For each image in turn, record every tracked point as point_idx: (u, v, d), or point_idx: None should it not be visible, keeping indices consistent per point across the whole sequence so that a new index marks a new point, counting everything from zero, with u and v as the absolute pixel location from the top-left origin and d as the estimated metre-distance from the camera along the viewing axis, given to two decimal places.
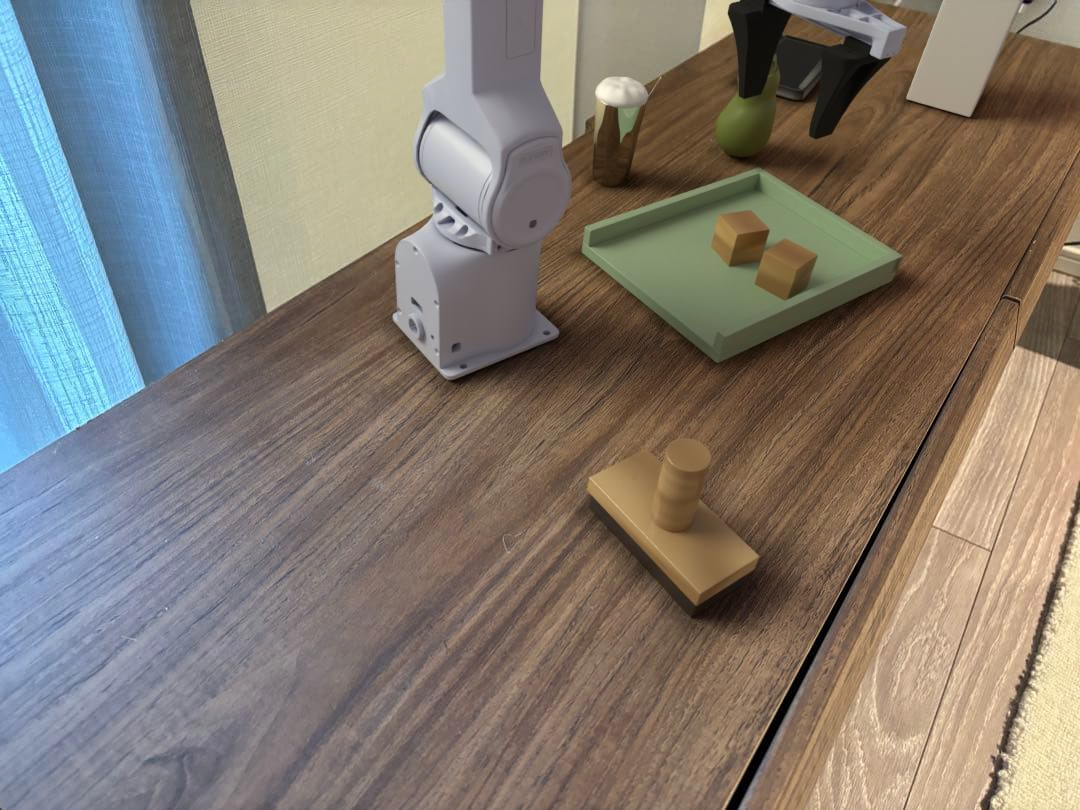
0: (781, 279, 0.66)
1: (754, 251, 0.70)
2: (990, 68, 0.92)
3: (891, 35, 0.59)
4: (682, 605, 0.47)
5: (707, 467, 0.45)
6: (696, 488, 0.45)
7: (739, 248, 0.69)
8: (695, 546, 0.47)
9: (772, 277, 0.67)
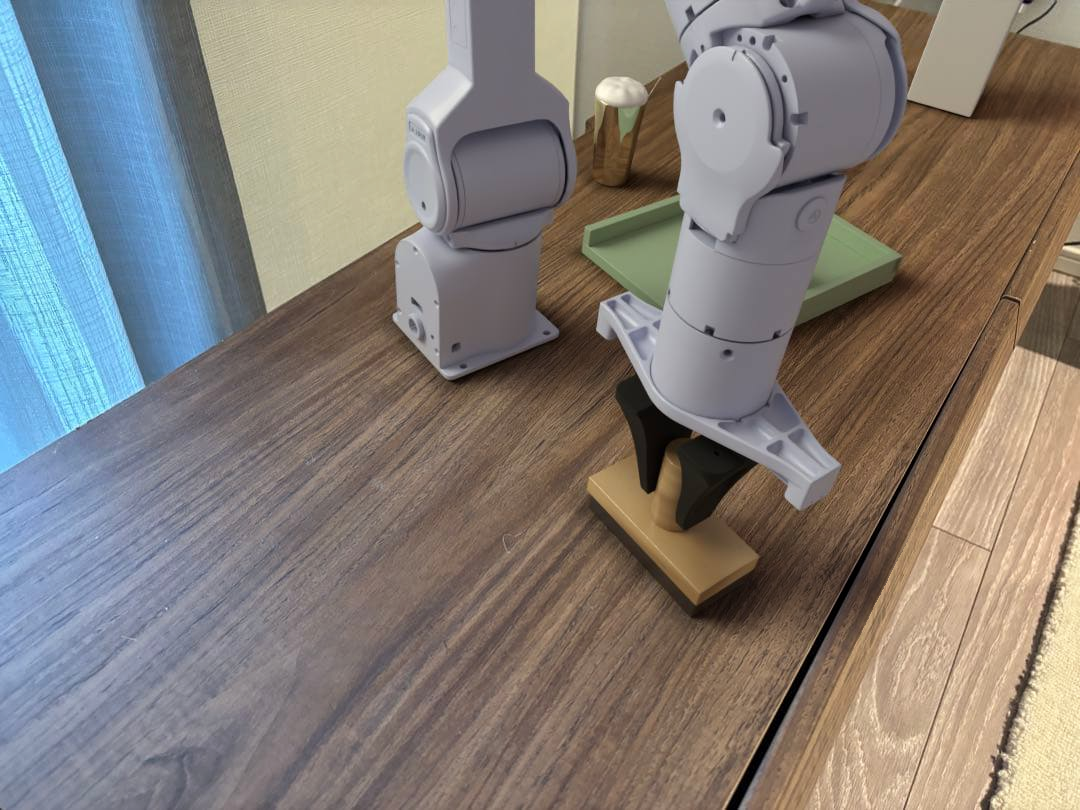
0: None
1: None
2: (990, 68, 0.92)
3: (815, 484, 0.37)
4: (682, 605, 0.47)
5: None
6: None
7: None
8: (695, 545, 0.47)
9: None
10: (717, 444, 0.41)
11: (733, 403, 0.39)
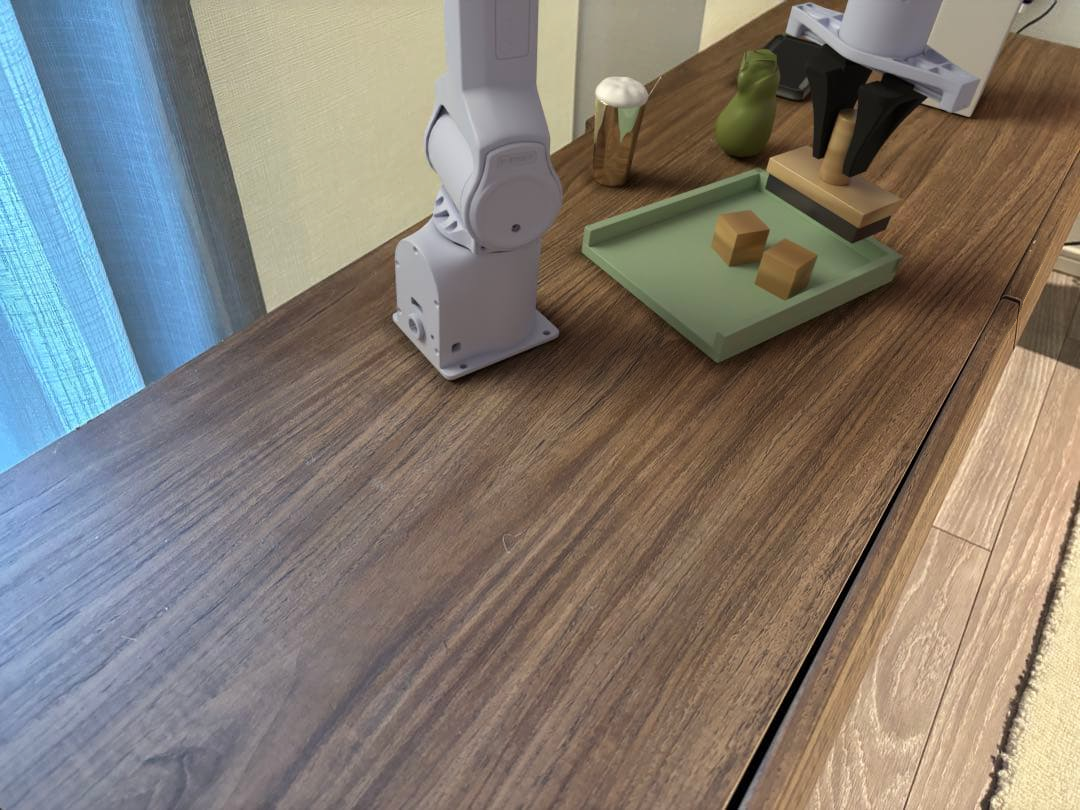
0: (781, 279, 0.66)
1: (754, 251, 0.70)
2: (990, 68, 0.92)
3: (964, 88, 0.55)
4: (845, 236, 0.65)
5: None
6: None
7: (739, 248, 0.69)
8: (854, 192, 0.65)
9: (772, 277, 0.67)
10: (886, 86, 0.59)
11: (904, 42, 0.57)
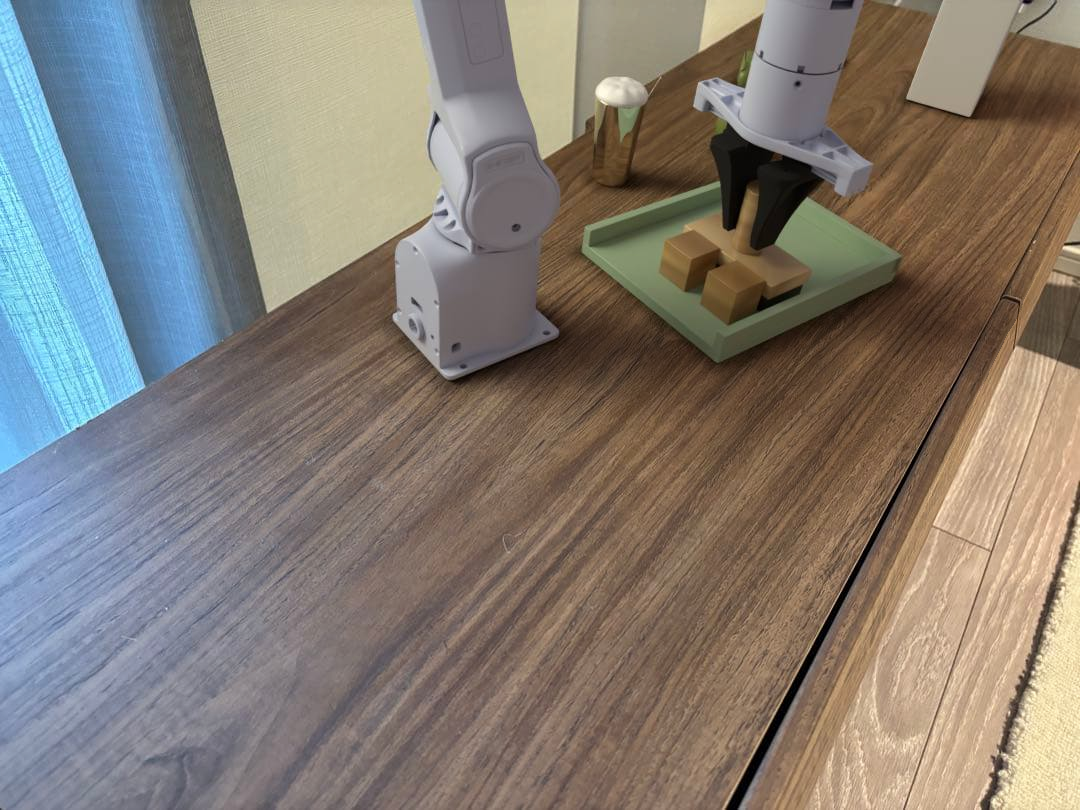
0: (723, 301, 0.64)
1: (706, 272, 0.67)
2: (990, 68, 0.92)
3: (856, 174, 0.55)
4: None
5: None
6: None
7: (693, 272, 0.66)
8: (765, 262, 0.65)
9: (715, 299, 0.64)
10: (785, 166, 0.59)
11: (799, 126, 0.57)
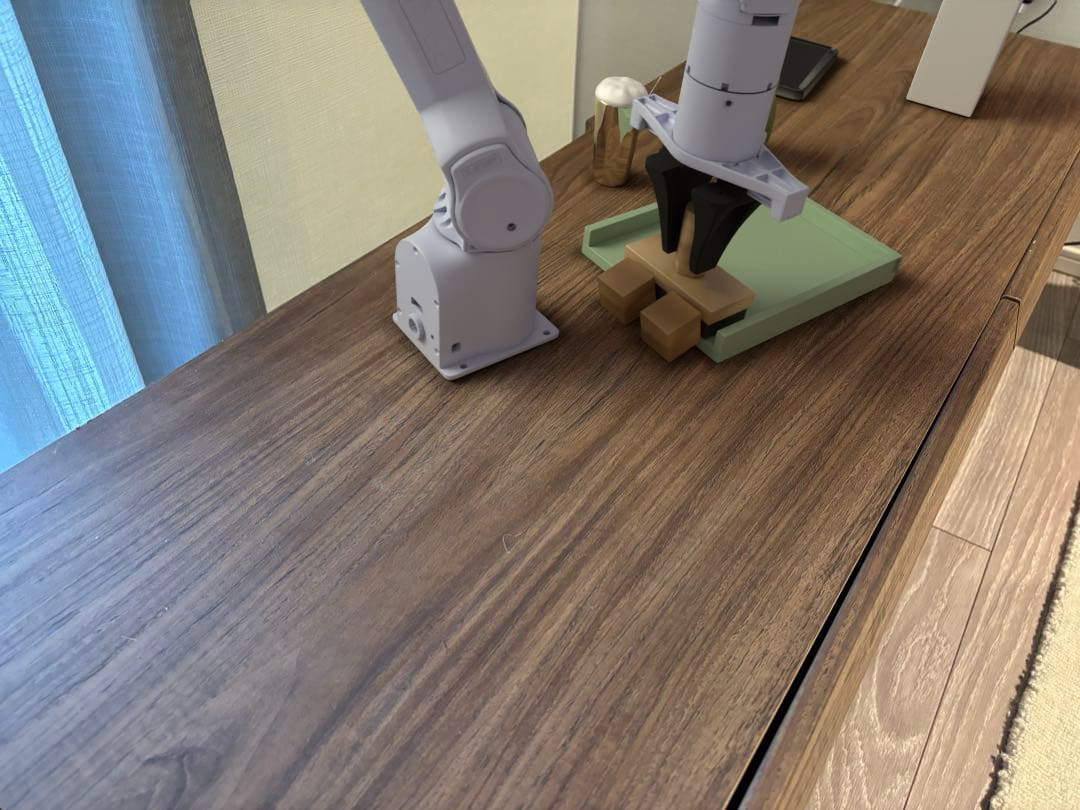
0: (659, 340, 0.61)
1: (646, 301, 0.65)
2: (990, 68, 0.92)
3: (790, 198, 0.53)
4: None
5: None
6: None
7: (630, 306, 0.64)
8: (707, 286, 0.62)
9: (652, 337, 0.62)
10: (721, 188, 0.56)
11: (732, 147, 0.54)
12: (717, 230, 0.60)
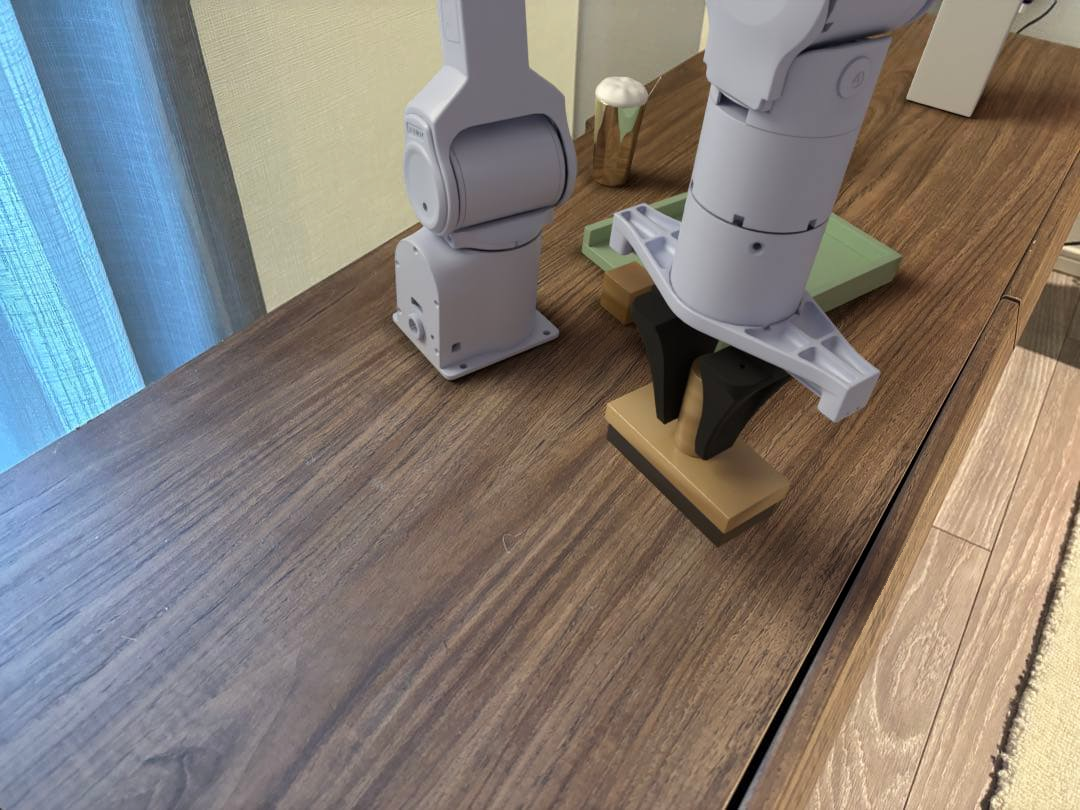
0: None
1: None
2: (990, 68, 0.92)
3: (852, 391, 0.34)
4: (708, 535, 0.44)
5: None
6: None
7: None
8: (722, 471, 0.44)
9: None
10: (742, 357, 0.38)
11: (761, 306, 0.36)
12: None
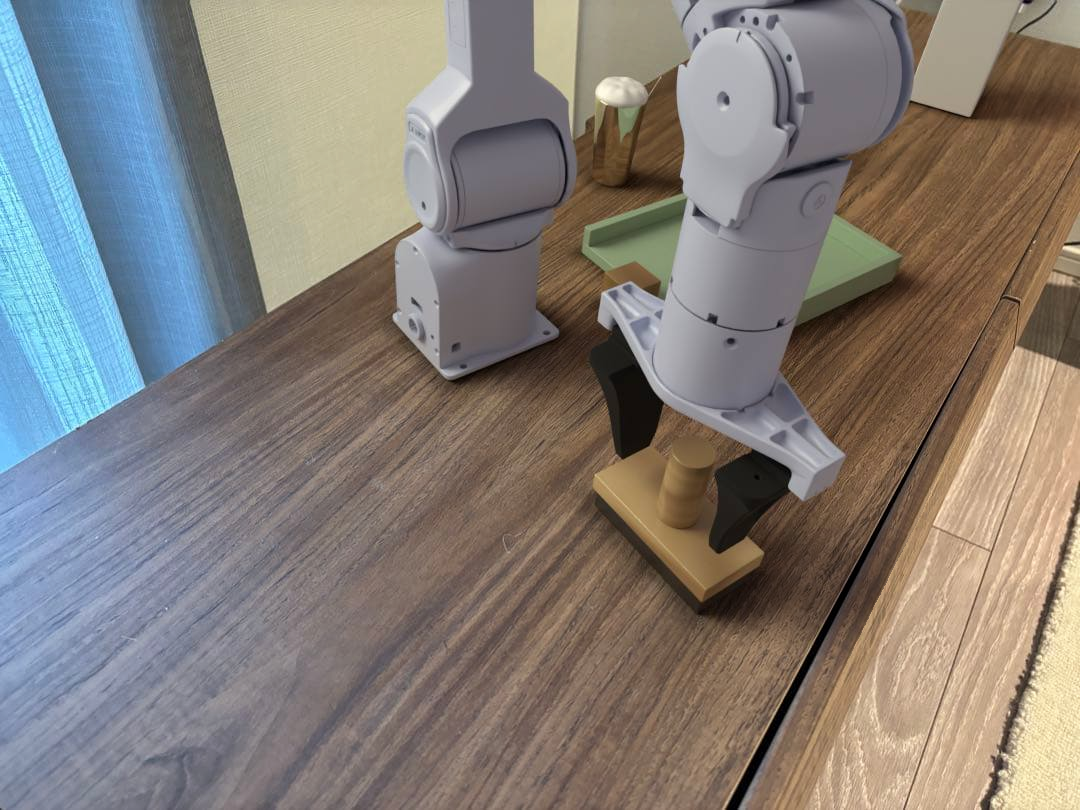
0: None
1: None
2: (990, 68, 0.92)
3: (819, 475, 0.37)
4: (687, 601, 0.47)
5: (713, 464, 0.45)
6: (702, 485, 0.46)
7: None
8: (700, 542, 0.47)
9: None
10: (757, 467, 0.39)
11: (736, 392, 0.38)
12: None
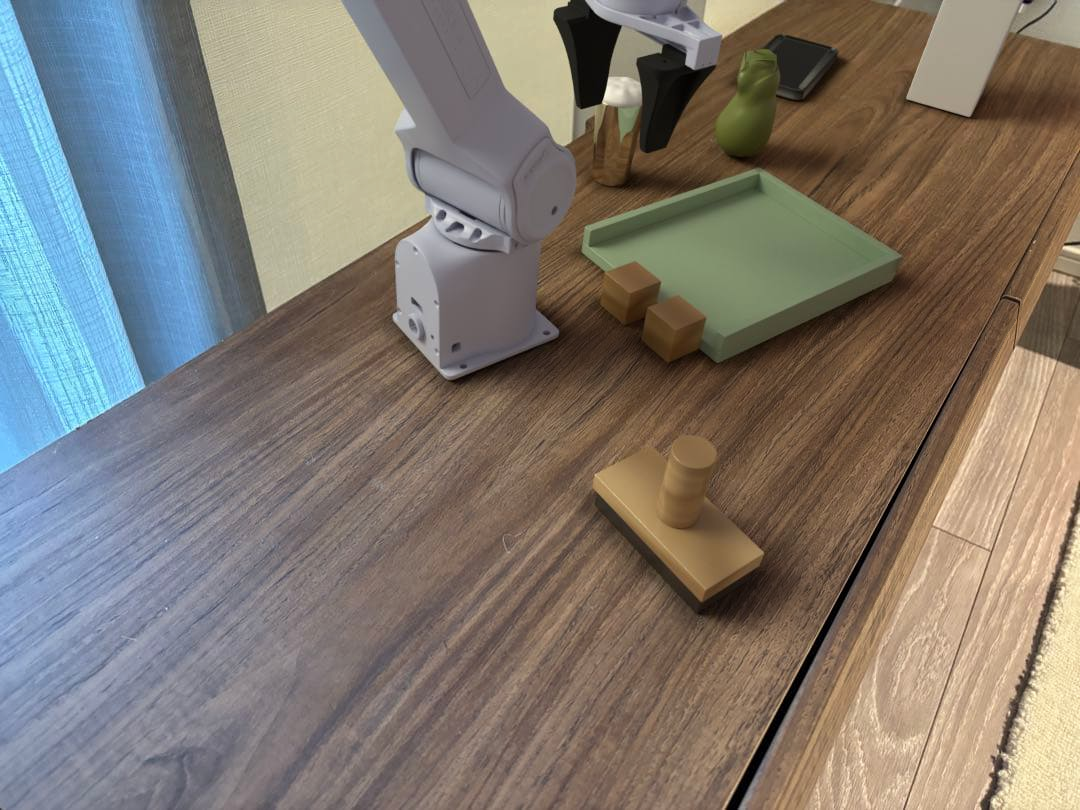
0: (662, 338, 0.62)
1: (648, 305, 0.65)
2: (990, 68, 0.92)
3: (703, 44, 0.55)
4: (687, 601, 0.47)
5: (713, 464, 0.45)
6: (702, 485, 0.46)
7: (633, 305, 0.64)
8: (700, 542, 0.47)
9: (655, 335, 0.62)
10: (665, 58, 0.57)
11: None
12: (665, 105, 0.60)
